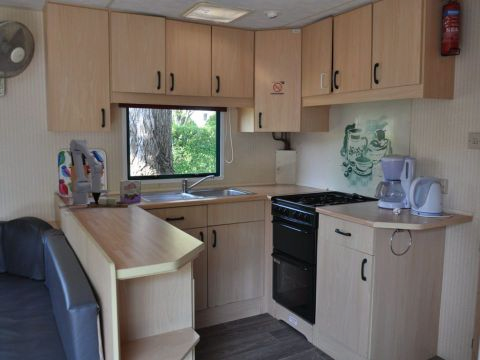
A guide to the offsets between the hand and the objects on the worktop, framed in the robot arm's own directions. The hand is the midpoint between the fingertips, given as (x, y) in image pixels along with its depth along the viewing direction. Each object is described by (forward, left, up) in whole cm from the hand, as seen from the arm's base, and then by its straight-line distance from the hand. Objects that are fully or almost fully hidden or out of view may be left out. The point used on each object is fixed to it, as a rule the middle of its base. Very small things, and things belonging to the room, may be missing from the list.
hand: (96, 204), depth 280 cm
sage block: (+10, 0, -1) cm, 10 cm away
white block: (+4, 0, -1) cm, 4 cm away
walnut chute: (+8, 0, -3) cm, 8 cm away
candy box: (+20, +18, -3) cm, 27 cm away
